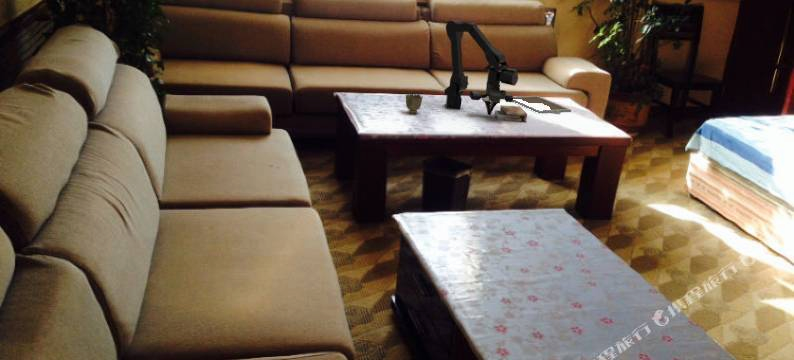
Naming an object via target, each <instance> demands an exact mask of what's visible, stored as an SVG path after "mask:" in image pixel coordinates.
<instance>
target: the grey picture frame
mask: <svg viewBox="0 0 794 360" xmlns="http://www.w3.org/2000/svg"><path fill="white" fill-rule="evenodd" d="M513 99H522V100H523V101H526V102H528V103H543V104H544V105H547V106H549V107H550V109H551V110H543V111H539V110H536V109H534V108H532V107H529V106H527V105H525V104H523V103H520V102H518V101H516V100H513V102H512V103H514V102H515V103H514V104H516V103H518V104H520V105H522V106H521V107H523V106H524V107H523V108H525V107H526V109H527V108H529V109H531V110H530V111H532V110H533V111H532V112H534V111H535V112H534V113H536V112H538V113H542V114H554V115H560V114H561V113H571V112H572V109H571V108H568V107H565V106H563V105H561V104H558V103H556V102H553V101H551V100H549V99H546V98H544V97H541V96H539V95H527V96H525V95H524V96H513ZM518 104H517V105H518ZM520 105H519V106H520ZM529 109H528V110H529ZM538 113H537V114H538Z"/></svg>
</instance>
